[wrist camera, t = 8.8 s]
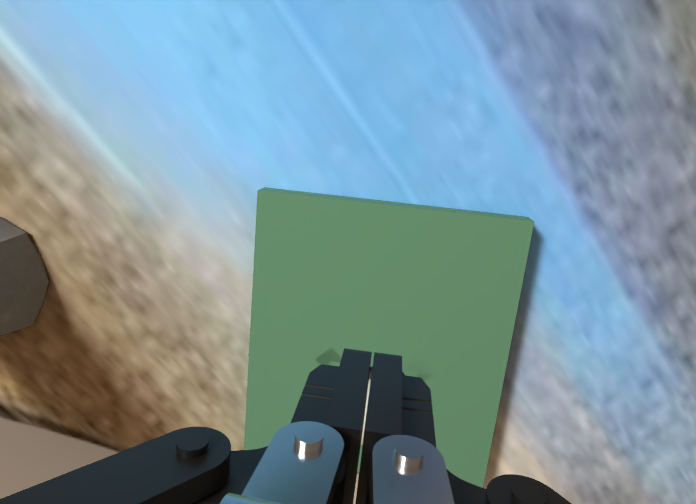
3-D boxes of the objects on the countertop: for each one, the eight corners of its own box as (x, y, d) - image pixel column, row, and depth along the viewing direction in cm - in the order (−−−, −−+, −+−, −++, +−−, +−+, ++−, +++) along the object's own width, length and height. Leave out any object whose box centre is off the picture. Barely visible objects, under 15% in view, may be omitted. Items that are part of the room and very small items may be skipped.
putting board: (528, 217, 30) (534, 221, 29) (479, 475, 35) (482, 491, 33) (264, 187, 31) (257, 190, 30) (250, 441, 36) (243, 454, 35)
